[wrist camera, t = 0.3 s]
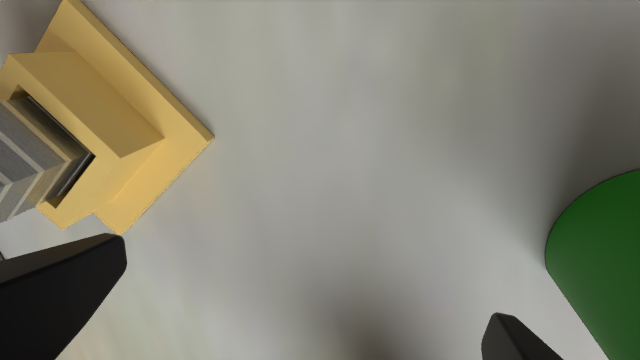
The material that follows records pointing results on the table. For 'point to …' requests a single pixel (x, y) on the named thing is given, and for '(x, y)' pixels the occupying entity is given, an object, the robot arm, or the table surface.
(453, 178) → the table surface
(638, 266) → the green pencil holder
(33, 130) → the column
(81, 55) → the stand base
